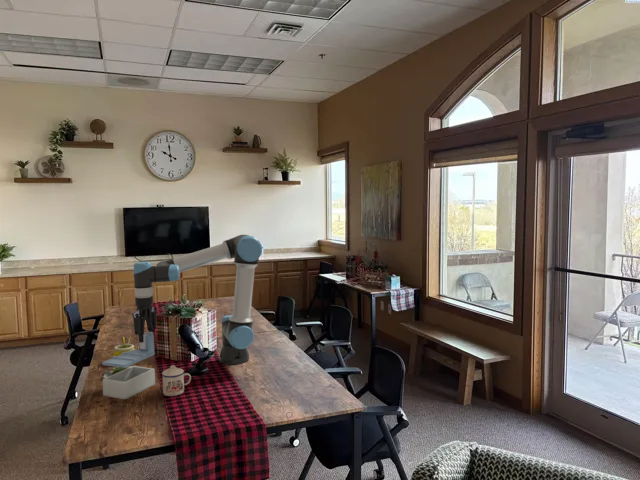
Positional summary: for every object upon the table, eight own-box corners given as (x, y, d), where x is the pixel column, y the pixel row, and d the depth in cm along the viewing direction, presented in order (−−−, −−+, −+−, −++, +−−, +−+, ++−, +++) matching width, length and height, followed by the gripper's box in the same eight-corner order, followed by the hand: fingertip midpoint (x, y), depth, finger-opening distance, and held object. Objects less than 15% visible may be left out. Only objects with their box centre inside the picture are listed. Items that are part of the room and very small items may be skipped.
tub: (155, 384, 218) (154, 368, 217) (125, 399, 201) (124, 382, 201) (133, 380, 222) (133, 365, 222) (103, 395, 206) (102, 379, 205)
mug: (128, 365, 243) (127, 342, 242) (108, 364, 245) (107, 341, 244) (142, 357, 256) (141, 335, 255) (123, 356, 258) (122, 334, 257)
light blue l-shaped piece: (160, 353, 221) (159, 334, 220) (125, 369, 200) (123, 348, 200) (139, 351, 225) (138, 332, 224) (102, 366, 205) (101, 346, 204)
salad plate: (91, 379, 225) (90, 369, 225) (121, 367, 242) (121, 358, 241) (121, 386, 217) (121, 375, 217) (151, 373, 233) (151, 363, 233)
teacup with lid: (164, 398, 202) (163, 370, 201) (160, 390, 210) (159, 364, 209) (193, 392, 208) (192, 365, 207) (188, 385, 216) (187, 359, 215)
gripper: (150, 292, 228) (152, 341, 230) (123, 299, 212) (126, 352, 214) (163, 293, 226) (165, 342, 228) (137, 300, 210) (140, 353, 212)
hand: (146, 347), depth 221 cm, fingers closed on light blue l-shaped piece, 4 cm apart
